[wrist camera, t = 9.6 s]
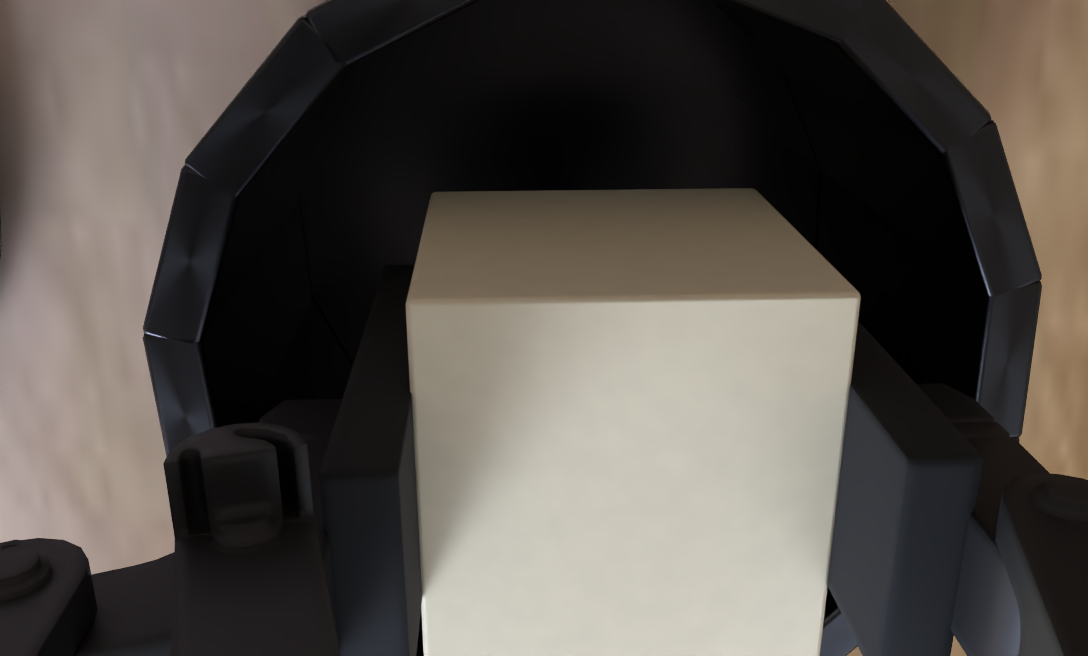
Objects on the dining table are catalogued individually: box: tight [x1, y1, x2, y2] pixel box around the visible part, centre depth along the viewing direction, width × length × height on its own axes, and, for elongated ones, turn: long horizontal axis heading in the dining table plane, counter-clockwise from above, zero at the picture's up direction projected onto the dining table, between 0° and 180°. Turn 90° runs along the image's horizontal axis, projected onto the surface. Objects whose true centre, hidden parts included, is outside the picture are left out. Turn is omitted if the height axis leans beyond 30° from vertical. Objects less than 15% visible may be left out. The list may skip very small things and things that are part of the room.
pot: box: [143, 0, 1042, 656], centre depth 19 cm, size 13×13×8 cm
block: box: [406, 188, 861, 656], centre depth 14 cm, size 5×5×5 cm
